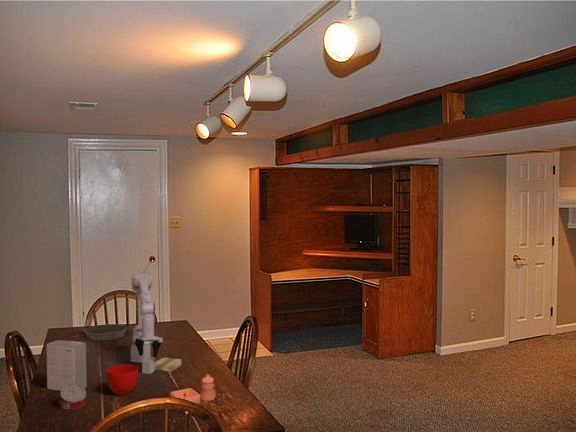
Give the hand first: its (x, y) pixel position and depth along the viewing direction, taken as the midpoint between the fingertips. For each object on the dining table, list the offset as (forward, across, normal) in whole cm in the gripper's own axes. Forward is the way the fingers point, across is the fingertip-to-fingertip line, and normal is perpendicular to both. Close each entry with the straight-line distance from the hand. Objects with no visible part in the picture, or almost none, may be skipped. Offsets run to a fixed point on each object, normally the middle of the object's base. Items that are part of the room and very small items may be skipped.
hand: (148, 356), depth 264 cm
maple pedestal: (+8, +5, +9) cm, 13 cm away
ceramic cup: (+8, +2, -26) cm, 27 cm away
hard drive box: (+8, -22, -30) cm, 38 cm away
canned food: (+8, -7, -45) cm, 46 cm away
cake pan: (+8, -60, +51) cm, 79 cm away
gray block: (+8, 0, 0) cm, 8 cm away
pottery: (+8, +38, -26) cm, 47 cm away
